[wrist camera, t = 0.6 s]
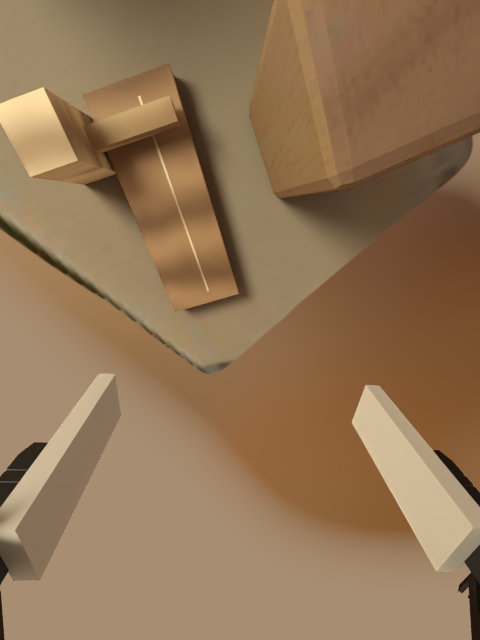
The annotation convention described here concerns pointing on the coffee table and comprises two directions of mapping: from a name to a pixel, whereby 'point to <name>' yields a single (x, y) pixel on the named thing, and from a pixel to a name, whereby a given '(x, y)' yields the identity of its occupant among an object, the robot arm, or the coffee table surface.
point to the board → (168, 194)
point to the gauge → (76, 134)
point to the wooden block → (363, 88)
